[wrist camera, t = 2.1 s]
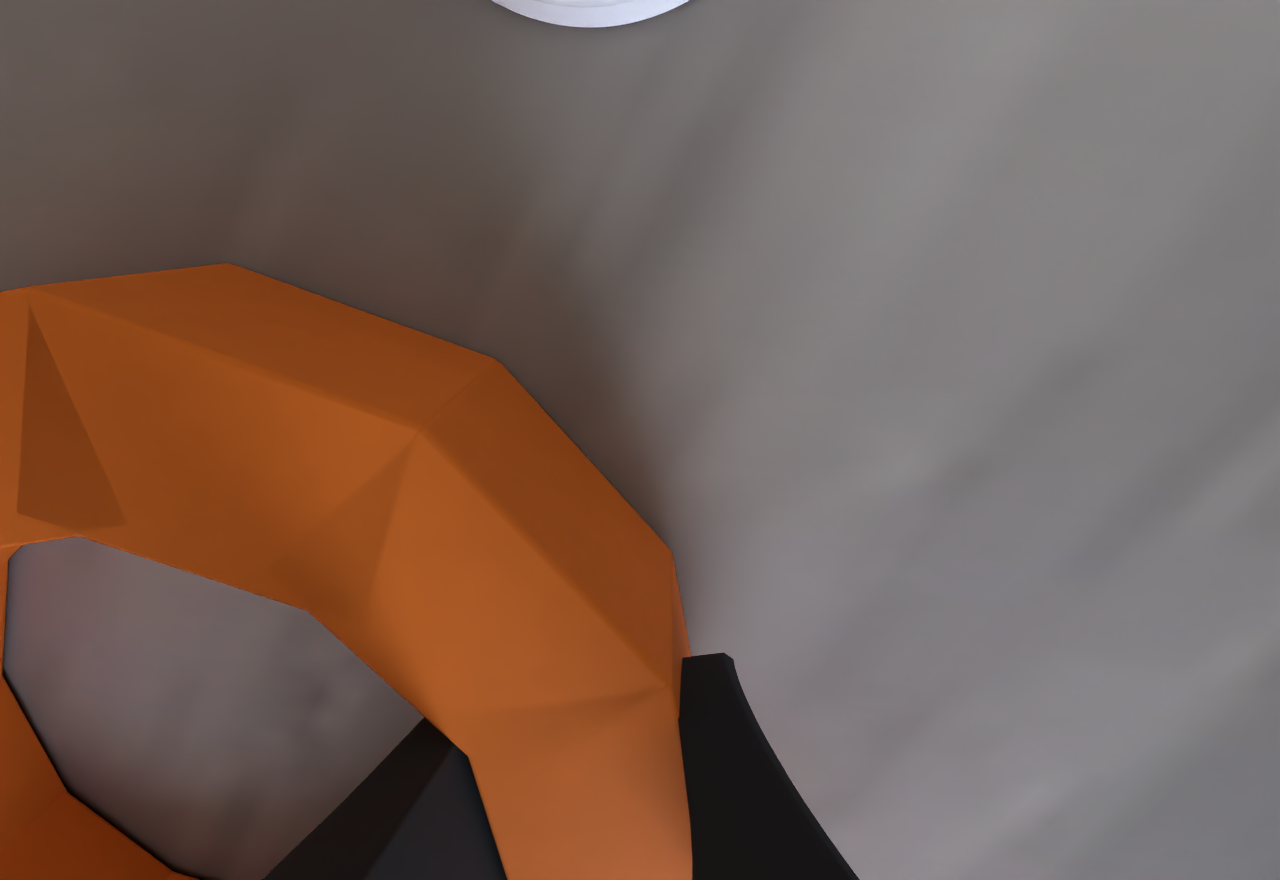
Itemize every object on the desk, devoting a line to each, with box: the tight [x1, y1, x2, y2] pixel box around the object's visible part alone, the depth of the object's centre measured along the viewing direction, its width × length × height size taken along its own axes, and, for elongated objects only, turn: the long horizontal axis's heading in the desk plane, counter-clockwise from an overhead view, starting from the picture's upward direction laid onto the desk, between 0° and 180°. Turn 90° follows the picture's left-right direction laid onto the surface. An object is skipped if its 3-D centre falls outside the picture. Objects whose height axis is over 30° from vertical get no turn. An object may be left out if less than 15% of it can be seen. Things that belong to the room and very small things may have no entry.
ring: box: [0, 263, 692, 880], centre depth 10 cm, size 14×14×3 cm
